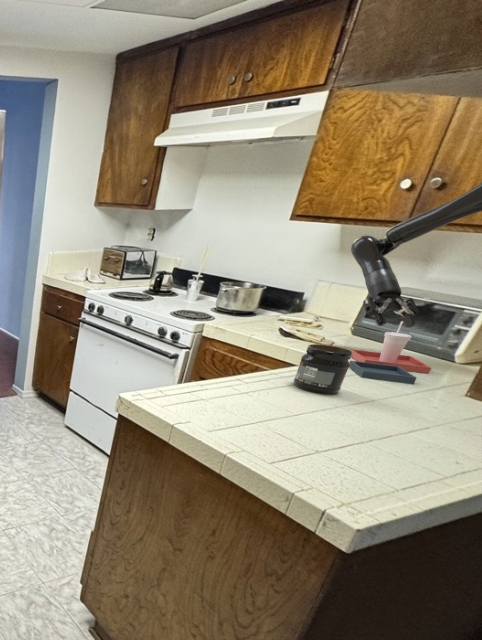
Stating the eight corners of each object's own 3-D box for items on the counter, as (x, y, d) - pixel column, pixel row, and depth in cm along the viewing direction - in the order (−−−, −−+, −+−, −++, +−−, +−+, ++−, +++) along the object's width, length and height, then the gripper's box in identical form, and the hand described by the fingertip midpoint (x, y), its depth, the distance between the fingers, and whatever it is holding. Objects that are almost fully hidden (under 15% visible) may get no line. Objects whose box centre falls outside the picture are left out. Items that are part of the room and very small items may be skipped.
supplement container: (335, 386, 137) (350, 347, 133) (342, 397, 129) (359, 356, 125) (290, 379, 143) (303, 341, 138) (294, 389, 135) (308, 349, 130)
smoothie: (388, 359, 162) (405, 319, 157) (405, 365, 156) (423, 324, 151) (368, 358, 163) (385, 319, 157) (384, 364, 157) (402, 323, 151)
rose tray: (408, 361, 162) (411, 356, 161) (428, 373, 150) (431, 367, 149) (348, 354, 169) (350, 349, 168) (363, 365, 157) (365, 359, 156)
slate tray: (396, 372, 151) (399, 366, 150) (413, 384, 141) (416, 377, 140) (347, 366, 156) (350, 360, 155) (361, 377, 146) (363, 370, 145)
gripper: (369, 278, 160) (383, 318, 154) (415, 279, 158) (431, 320, 152) (351, 290, 167) (364, 330, 161) (395, 292, 165) (409, 332, 159)
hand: (396, 325), depth 156 cm, fingers open, 8 cm apart
